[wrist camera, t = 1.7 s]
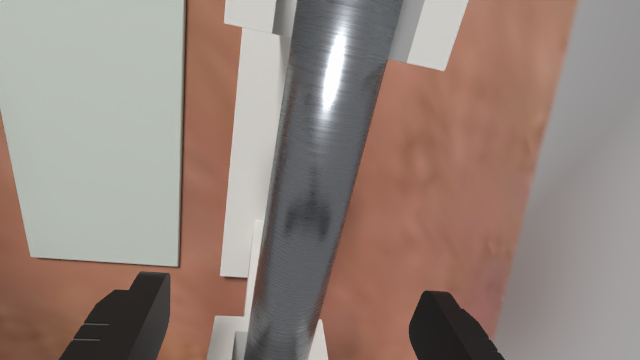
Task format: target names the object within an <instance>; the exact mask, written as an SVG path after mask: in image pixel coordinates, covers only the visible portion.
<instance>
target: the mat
mask: <svg viewBox="0 0 640 360" xmlns="http://www.w3.org/2000/svg"><path fill="white" fill-rule="evenodd" d="M185 21H186V0H0V109H1V114H2V119H3V124H4V129H5V134H6V139H7V144H8V148H9V153H10V158H11V163H12V168H13V173H14V178H15V183H16V188H17V193H18V197H19V202H20V207H21V212H22V217H23V222H24V227H25V232H26V237H27V242H28V246H29V251H30V256H31V257H39V258H54V259H69V260H84V261H99V262H115V263H130V264H145V265H160V266H176V267H178V264H179V256H180V217H181V178H182V138H183V99H184V60H185Z"/></svg>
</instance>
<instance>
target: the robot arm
mask: <svg viewBox="0 0 640 360" xmlns="http://www.w3.org/2000/svg"><path fill="white" fill-rule="evenodd" d="M169 317H170V274H169V273H159V272H144V271H141V272H140V273H139V274H138V275H137V277H136V278H135V280H134V282H133V284H132V285H131V287H130V289H129V290H114V291H112V292H111V293H110V294H109V295H107V296H106V297H105V298H103V299H102V300H101V301H100V302H98V303H97V304H96V305H95V307H94V308H93V310H92V311H91V313H90V314H89V316H88V317H87V319H86V320H85V322H84V325H83V326H81V328H80V329H79V331H78V332H77V333H76V335H75V336H74V340H73V341H71V342H70V344H69V345H68V347H67V348H66V350H65V351H64V353H63V354H62V356H61V357H60V359H59V360H156V358H157V356H158V353H159V350H160V348H161V345H162V342H163V340H164V337H165V334H166V331H167V327H168V323H169ZM409 337H410V342H411V344H412V347H413V349H414V351H415V353H416V356H417V358H418V360H505V359H504V358H503V357H502V355H501V354H500V353H498V352H497V348H496V347H495V345H494V344H493V342H492V341H491V340H489V338H488V335H487V334H486V333H485V331H484V330H483V328H482V327H481V325H480V324H479V323H478V322H477V321H476V320H475V319H474V318H473V317H472V316H471V315H470V314H469V313H467V312H466V311H465V310H464V309H461V308H460V307H459V305H458V304H457V302H456V301H455V299H454V298H453V296H452V295H451V294H450V293H448V292H442V291H424V292H423V293H422V295H421V298H420V300H419V302H418V305H417V307H416V310H415V312H414V314H413V317H412V319H411V321H410V325H409Z"/></svg>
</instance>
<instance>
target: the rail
mask: <svg viewBox="0 0 640 360" xmlns="http://www.w3.org/2000/svg"><path fill="white" fill-rule="evenodd" d="M402 4H403V0H297V3H296V10H295V17H294V23H293V30H292V37H291V44H290V50H289V57H288V64H287V71H286V77H285V84H284V91H283V98H282V104H281V111H280V118H279V125H278V131H277V138H276V145H275V152H274V158H273V165H272V172H271V179H270V185H269V192H268V199H267V206H266V212H265V219H264V226H263V233H262V239H261V246H260V253H259V260H258V266H257V273H256V280H255V287H254V293H253V300H252V307H251V314H250V320H249V327H248V334H247V341H246V347H245V354H244V360H308V357H309V354H310V350H311V346H312V342H313V339H314V335H315V331H316V327H317V324H318V320H319V316H320V312H321V309H322V305H323V301H324V297H325V294H326V290H327V286H328V282H329V278H330V275H331V271H332V267H333V263H334V260H335V256H336V252H337V248H338V245H339V241H340V237H341V233H342V230H343V226H344V222H345V218H346V215H347V211H348V207H349V203H350V200H351V196H352V192H353V188H354V184H355V181H356V177H357V173H358V169H359V166H360V162H361V158H362V154H363V151H364V147H365V143H366V139H367V136H368V132H369V128H370V124H371V121H372V117H373V113H374V109H375V106H376V102H377V98H378V94H379V90H380V87H381V83H382V79H383V75H384V72H385V68H386V64H387V60H388V57H389V53H390V49H391V45H392V42H393V38H394V34H395V30H396V27H397V23H398V19H399V15H400V12H401V8H402Z"/></svg>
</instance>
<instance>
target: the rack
mask: <svg viewBox="0 0 640 360" xmlns="http://www.w3.org/2000/svg"><path fill="white" fill-rule="evenodd" d="M296 3H297V0H226V3H225V17H224V23H226V24H230V25H234V26H239V27H243V28H242V39H241V50H240V61H239V72H238V83H237V94H236V105H235V116H234V127H233V138H232V149H231V160H230V171H229V182H228V193H227V204H226V215H225V226H224V237H223V248H222V259H221V270H220V276H229V277H245V278H248V279H247V288H246V297H245V306H244V315H243V317H237V316H215V320H214V325H213V330H212V335H211V339H210V344H209V349H208V354H207V358H206V360H244V354H245V347H246V341H247V334H248V327H249V320H250V314H251V307H252V300H253V293H254V287H255V280H256V273H257V266H258V260H259V253H260V246H261V239H262V233H263V226H264V219H265V212H266V206H267V199H268V192H269V185H270V179H271V172H272V165H273V158H274V152H275V145H276V138H277V131H278V125H279V118H280V111H281V104H282V98H283V91H284V84H285V77H286V71H287V64H288V57H289V50H290V44H291V37H292V30H293V23H294V17H295V10H296ZM467 3H468V0H403V4H402V8H401V12H400V15H399V19H398V23H397V27H396V30H395V34H394V38H393V42H392V45H391V49H390V53H389V57H388V59H390V60H395V61H400V62H404V63H409V64H414V65H419V66H423V67H428V68H433V69H437V70H442V71H445V68H446V65H447V62H448V59H449V56H450V53H451V50H452V47H453V45H454V42H455V39H456V36H457V33H458V30H459V27H460V24H461V21H462V18H463V15H464V12H465V9H466V6H467ZM308 360H328V355H327V349H326V342H325V336H324V330H323V324H322V320H318V324H317V327H316V331H315V335H314V339H313V342H312V346H311V350H310V354H309V357H308Z"/></svg>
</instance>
